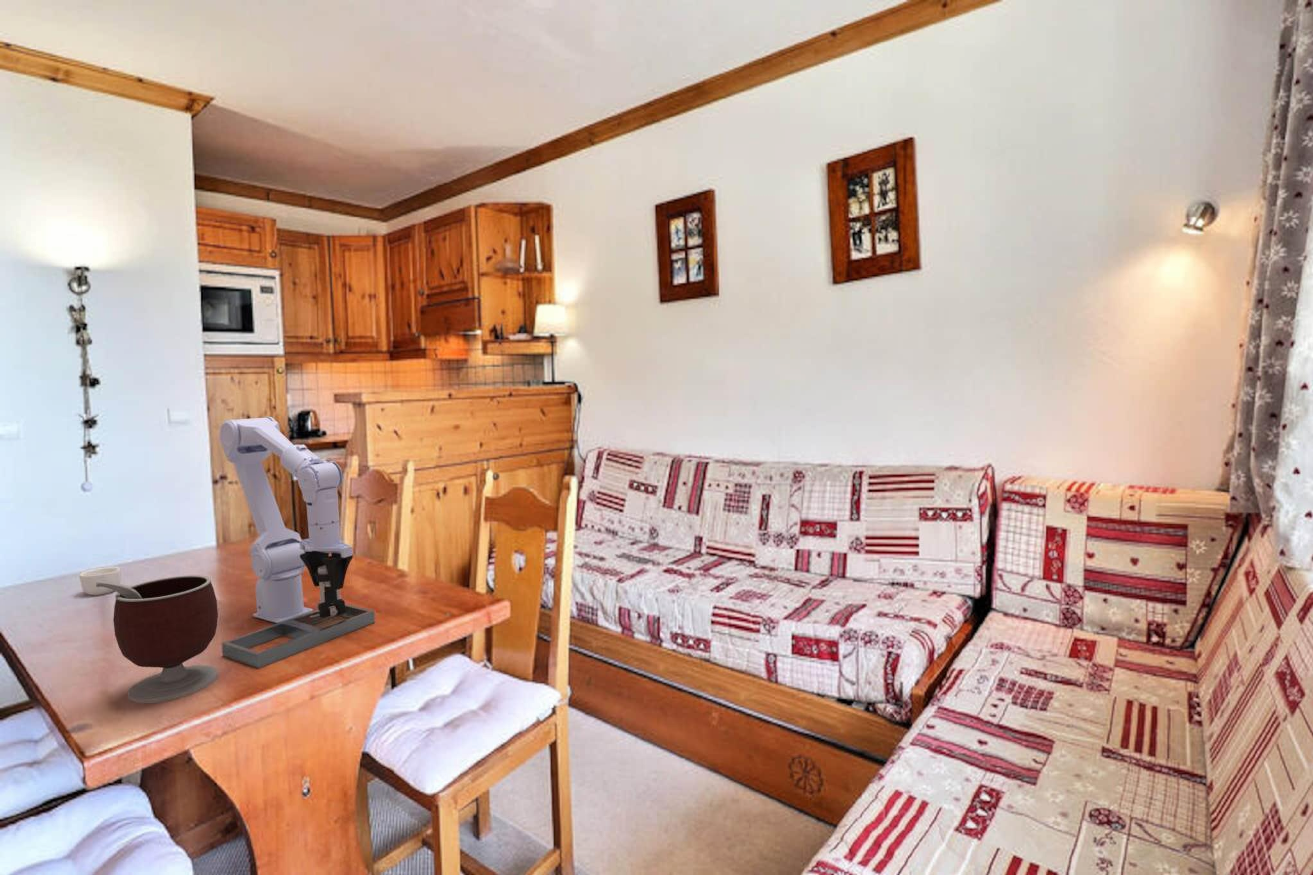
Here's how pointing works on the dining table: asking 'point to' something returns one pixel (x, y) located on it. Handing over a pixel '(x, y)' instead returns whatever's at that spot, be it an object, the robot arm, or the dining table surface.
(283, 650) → the rail frame
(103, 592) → the teacup
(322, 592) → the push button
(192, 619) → the mate gourd
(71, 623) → the dining table surface
